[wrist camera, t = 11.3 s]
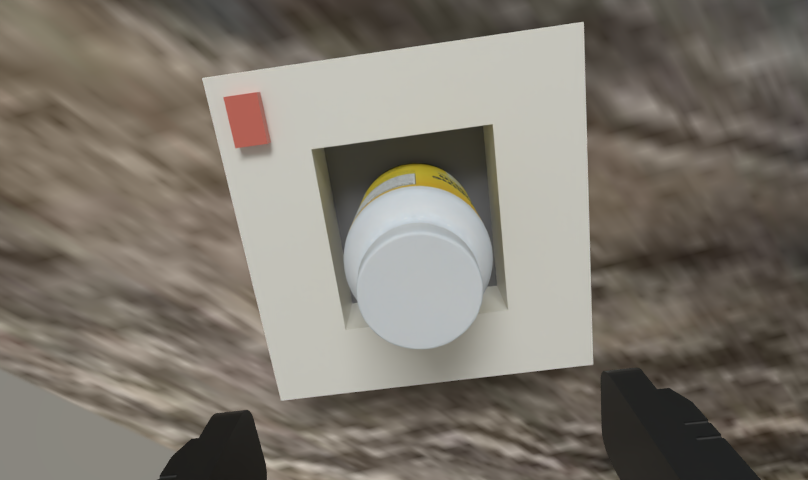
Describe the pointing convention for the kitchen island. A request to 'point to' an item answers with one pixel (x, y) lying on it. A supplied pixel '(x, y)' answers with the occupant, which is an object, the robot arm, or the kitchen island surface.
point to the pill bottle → (418, 257)
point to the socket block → (406, 143)
